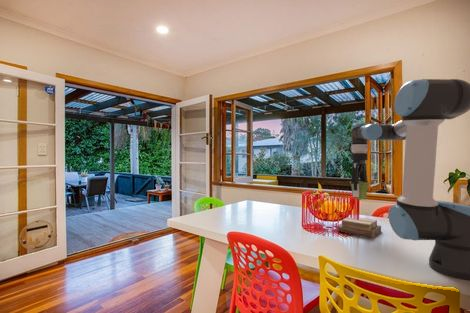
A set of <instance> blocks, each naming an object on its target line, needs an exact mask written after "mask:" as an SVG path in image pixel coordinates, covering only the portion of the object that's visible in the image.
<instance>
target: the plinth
mask: <svg viewBox="0 0 470 313" xmlns="http://www.w3.org/2000/svg"><path fill="white" fill-rule="evenodd" d="M358 217H359V216H358ZM338 231H341V232H345V233H344V234H346V233H349V234H348V235H351V234H353V235H352V236H355V235H356V237H360V236H361V237H362V238H365V237H366V238H365V239H370V238H371V240H372V239H373V238H375V237H376V236H377V235H379V234H380V233H381V232H382V225H378V220H377V219H371V218H365V217H359V220H357V219H354V218H351V217H350V216H349V217H346V218H343V219H342V220H341V224H339V225H338V226H337V232H338ZM341 232H340V233H341Z"/></svg>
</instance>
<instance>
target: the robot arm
mask: <svg viewBox="0 0 470 313" xmlns="http://www.w3.org/2000/svg"><path fill="white" fill-rule="evenodd" d="M394 110H395V114H397V115H398V116H400V117H401V120H399V121H397V122H395V123H394V124H393V123H392V124H391V123H390V124H377V123H367V122H355V123H352V124H351V131H350V132H351V150H350V152H351V160H352V161H354V163H351V164H352V166H351V167H352V168H351V170H352V171H351V179H350V182H351V184H353V195H352V198H353V197H359V184H358V182H359V181H361V182H368V175H367V174H368V173H367V163H366V162H365V161H368V159H369V158H368V155H369V154H368V153H367V152H368V149H369V145H368V144H369V143H368V142H369V141H405V143H404V144H405V146H404V158H403V159H404V160H403V161H404V162H403V176H402V177H403V179H402V190H401V191H402V193H401V194H400V195H399V196H398V197H397V198H396V204H392V205H391V206H389V208H388V214H387V215H388V216H387V217H388V222H389V225H390V227H391V229H392V231H393V232H394V233H395V235H397V237H399V238H400V239H402V240H410V241H434V246H433V248H432V250H431V252H430V255H429V257H428V258H429V259H428V265H429V267H430V268H431V269H433V270H434V271H437V272H439V273H441V274H443V275H447V276H449V277H453V278H457V279H462V280H467V279H468V280H469V281H470V205H468V204H464V203H457V202H451V201H445V200H436V199H435V198H434V191H435V190H434V188H435V186H434V185H435V175H436V172H435V171H436V161H437V145H438V133H439V132H438V131H439V127H440V125H441V124H442V123H444V122H445V120H453V119H456V118H457V117H460V116H462V115H464V114H466V113H467V112H469V111H470V83H469V82H468V81H466V80H463V79H459V78H455V79H454V78H451V79H450V78H449V79H448V78H447V79H445V78H444V79H443V78H442V79H441V78H437V79H436V78H435V79H433V78H432V79H430V78H429V79H427V78H422V79H421V78H420V79H412V80H409V81H407V82H405V83H404V84H403V85H402V86H401V87H400V89H399V90H398V91H397V94H396V96H395V99H394ZM351 184H350V185H351Z"/></svg>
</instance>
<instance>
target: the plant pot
mask: <svg viewBox="0 0 470 313" xmlns="http://www.w3.org/2000/svg"><path fill="white" fill-rule="evenodd" d="M349 183H350V187H351V193H352V196H353V184H351V181H349ZM358 184H359V197H356V198H354V200H360V201H361V200H365V201H366V199H367V194H368V188H369V185H370V182H361V181H360V180H359V182H358Z"/></svg>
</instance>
